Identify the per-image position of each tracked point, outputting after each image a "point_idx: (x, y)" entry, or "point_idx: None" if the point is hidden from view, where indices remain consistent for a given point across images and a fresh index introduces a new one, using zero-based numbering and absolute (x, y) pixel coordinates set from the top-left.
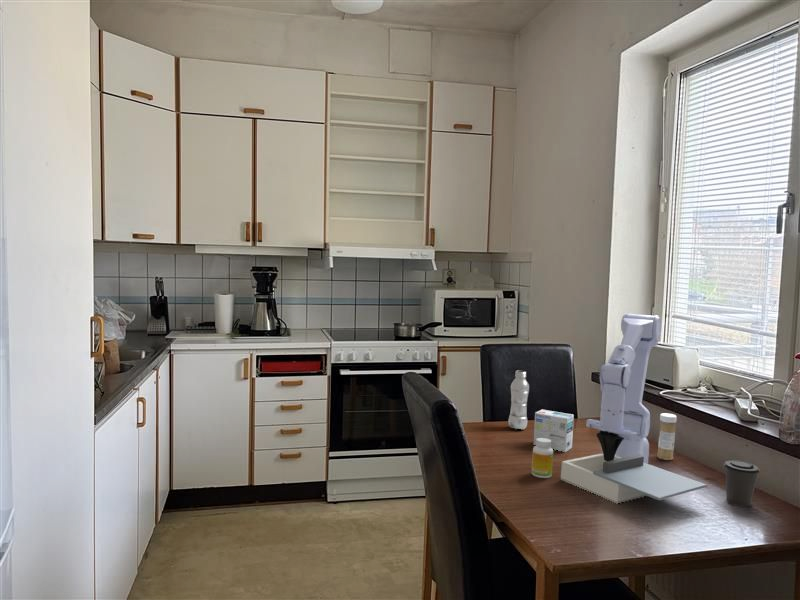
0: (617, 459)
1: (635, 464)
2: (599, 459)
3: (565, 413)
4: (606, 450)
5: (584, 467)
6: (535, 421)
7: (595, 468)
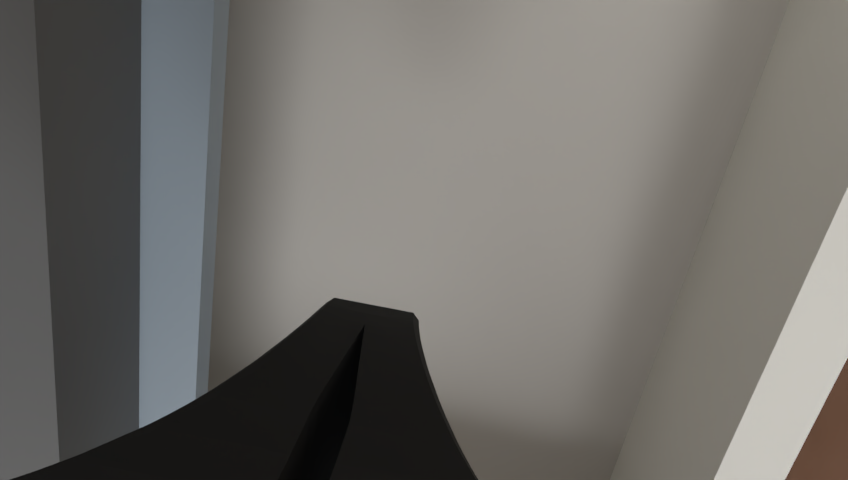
0: (37, 257)
1: None
2: None
3: None
4: (311, 390)
5: (737, 258)
6: None
7: (654, 412)
